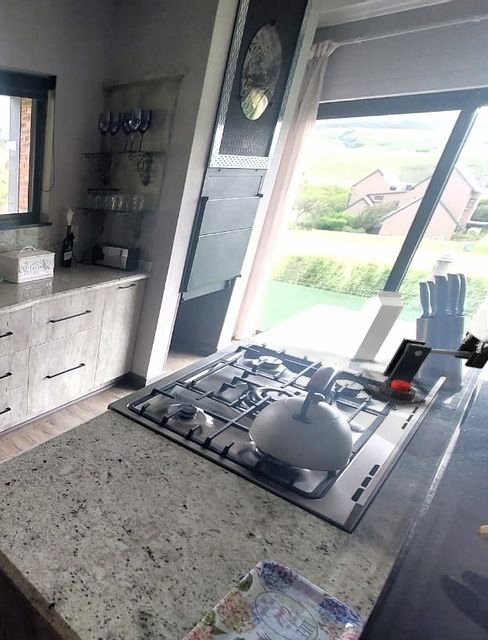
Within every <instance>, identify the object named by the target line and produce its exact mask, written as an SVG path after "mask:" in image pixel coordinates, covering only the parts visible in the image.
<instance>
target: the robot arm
mask: <svg viewBox="0 0 488 640" xmlns="http://www.w3.org/2000/svg"><path fill="white" fill-rule="evenodd" d="M485 298H486V299H484V301H483V302H482V303H481V304H480V306H479V307H478V308H477V310H476V311H475V312H474V314H473V315H472V317H471V319H470V320H469V321H468V324H467V325H466V333H465V337H463V339H462V342H461V344H460V345H459V347H458V349H457V351H463V350H464V349H467V348H468V349H471V350H472V351H473V353H472V354H471V356H470V357H466V356H456V355H453V357H454V358H455V359H461V360H466V362H465V363H464V366H465V367H467V368H473V369H480V370H482V369H483V368H484V367H485V366H486V364H487V363H488V292H487V294H486V295H485ZM486 344H487V345H486Z"/></svg>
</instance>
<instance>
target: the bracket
mask: <svg viewBox="0 0 488 640" xmlns="http://www.w3.org/2000/svg"><path fill="white" fill-rule="evenodd" d="M407 343H409V345H408V347H407V348H406V346H407ZM410 343H413V344H410ZM416 344H422V345H423V346H422V345H416ZM426 344H427V342H426V341H425V340H424V341H423V340H419V339H418V340H417V339H411V338H405V337H403V339H402V340H401V342H400V344H399V346H398V348H397V349H396V351H395V353H394V354H393V356H392V358H391V359H390V361H389V363H388V364H387V366H386V368H385V370H384V372H383V373H382V375H383V376H384V377H388V378H387V380H386V382H387V381H391V382H393V381H394V380H402V381H405V382H408V383H409V384H411V383H412V381H413V380H414V378H415V376H416V375H417V373H418V372H419V370H420V369H421V367H422V365H423V364H424V362H425V361H426V360H427V357H428V355H430V354H431V353H430V351H431V350H432V348H433V347H432V346H427V345H426ZM405 348H406V350H405ZM404 350H405V351H404Z"/></svg>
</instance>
